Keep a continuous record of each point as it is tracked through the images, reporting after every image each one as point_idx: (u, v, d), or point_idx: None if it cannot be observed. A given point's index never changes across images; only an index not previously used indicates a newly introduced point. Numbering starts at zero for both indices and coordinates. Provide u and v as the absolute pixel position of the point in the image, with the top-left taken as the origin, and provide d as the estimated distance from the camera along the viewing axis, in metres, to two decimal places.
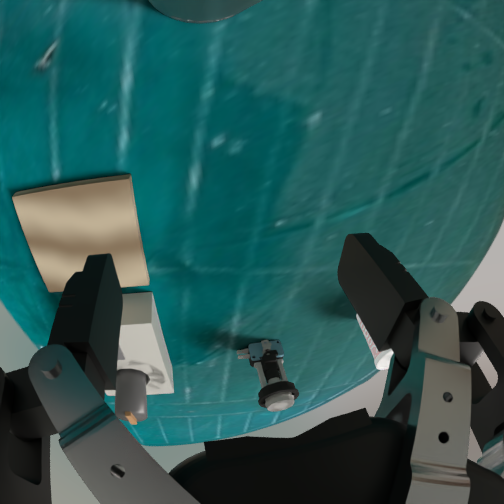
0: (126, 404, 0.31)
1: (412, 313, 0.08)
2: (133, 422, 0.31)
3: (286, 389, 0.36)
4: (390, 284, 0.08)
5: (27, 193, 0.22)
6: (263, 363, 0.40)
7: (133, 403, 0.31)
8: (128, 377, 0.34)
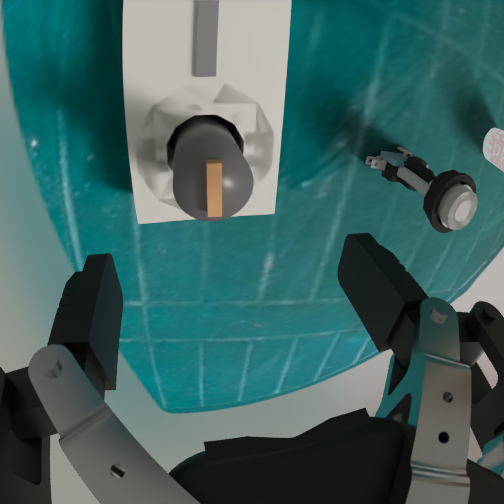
0: (212, 143, 0.14)
1: (412, 313, 0.08)
2: (216, 205, 0.15)
3: (468, 176, 0.19)
4: (390, 284, 0.08)
5: None
6: (412, 166, 0.24)
7: (228, 145, 0.15)
8: (210, 126, 0.17)
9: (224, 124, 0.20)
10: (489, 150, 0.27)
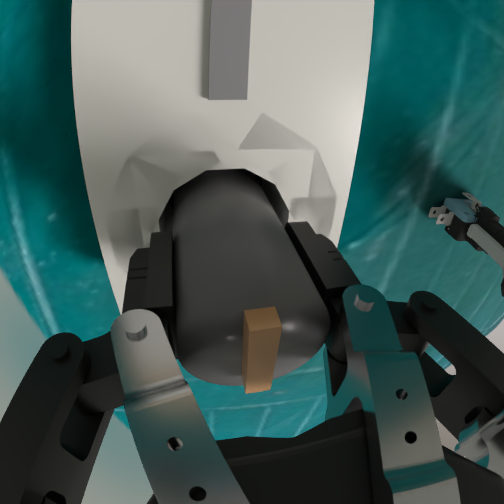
0: (255, 267, 0.07)
1: (338, 301, 0.08)
2: (262, 380, 0.08)
3: None
4: (315, 270, 0.09)
5: None
6: (485, 223, 0.17)
7: (286, 265, 0.07)
8: (236, 194, 0.10)
9: (253, 177, 0.13)
10: None
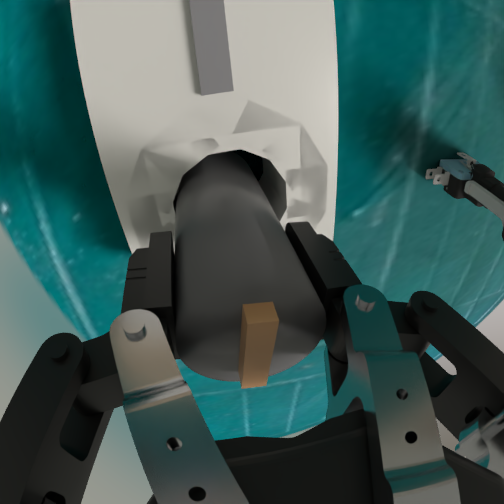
0: (255, 263, 0.07)
1: (339, 300, 0.08)
2: (258, 375, 0.08)
3: None
4: (316, 270, 0.09)
5: None
6: (480, 179, 0.17)
7: (284, 262, 0.08)
8: (238, 195, 0.10)
9: (255, 179, 0.13)
10: None
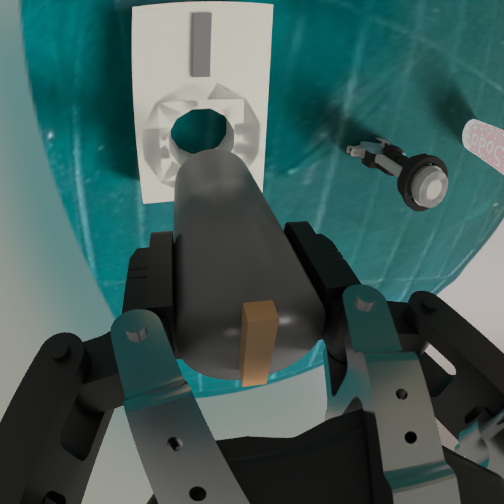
0: (254, 261, 0.07)
1: (338, 300, 0.08)
2: (258, 373, 0.08)
3: (438, 158, 0.22)
4: (315, 270, 0.09)
5: None
6: (388, 153, 0.27)
7: (283, 261, 0.08)
8: (236, 194, 0.10)
9: (253, 179, 0.13)
10: (468, 140, 0.30)
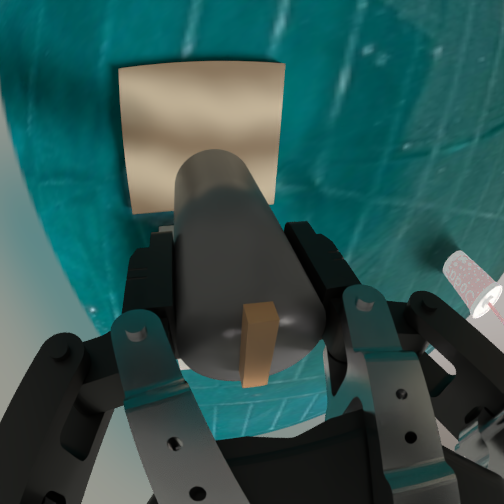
0: (254, 263, 0.07)
1: (338, 300, 0.08)
2: (259, 375, 0.08)
3: None
4: (315, 270, 0.09)
5: (143, 65, 0.18)
6: None
7: (284, 262, 0.08)
8: (236, 195, 0.10)
9: (253, 179, 0.13)
10: (447, 273, 0.39)
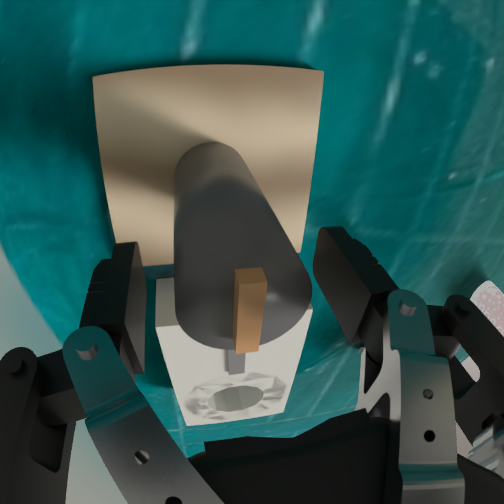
0: (245, 233, 0.08)
1: (380, 305, 0.08)
2: (250, 340, 0.09)
3: None
4: (358, 276, 0.08)
5: (127, 71, 0.12)
6: None
7: (272, 234, 0.09)
8: (231, 180, 0.11)
9: (247, 169, 0.14)
10: None
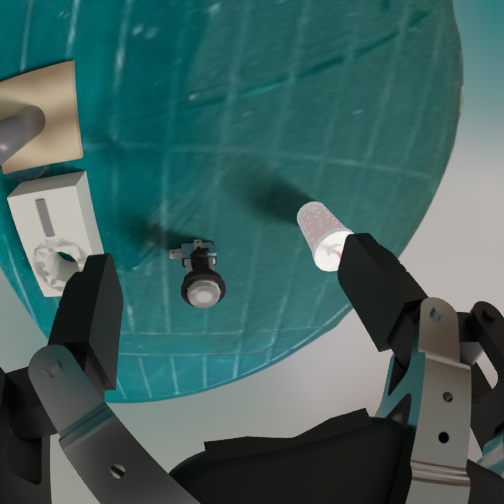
0: None
1: (412, 313, 0.08)
2: None
3: (207, 274, 0.35)
4: (390, 284, 0.08)
5: (0, 82, 0.22)
6: (192, 258, 0.40)
7: None
8: (10, 116, 0.21)
9: (31, 113, 0.24)
10: (299, 225, 0.43)
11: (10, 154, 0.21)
